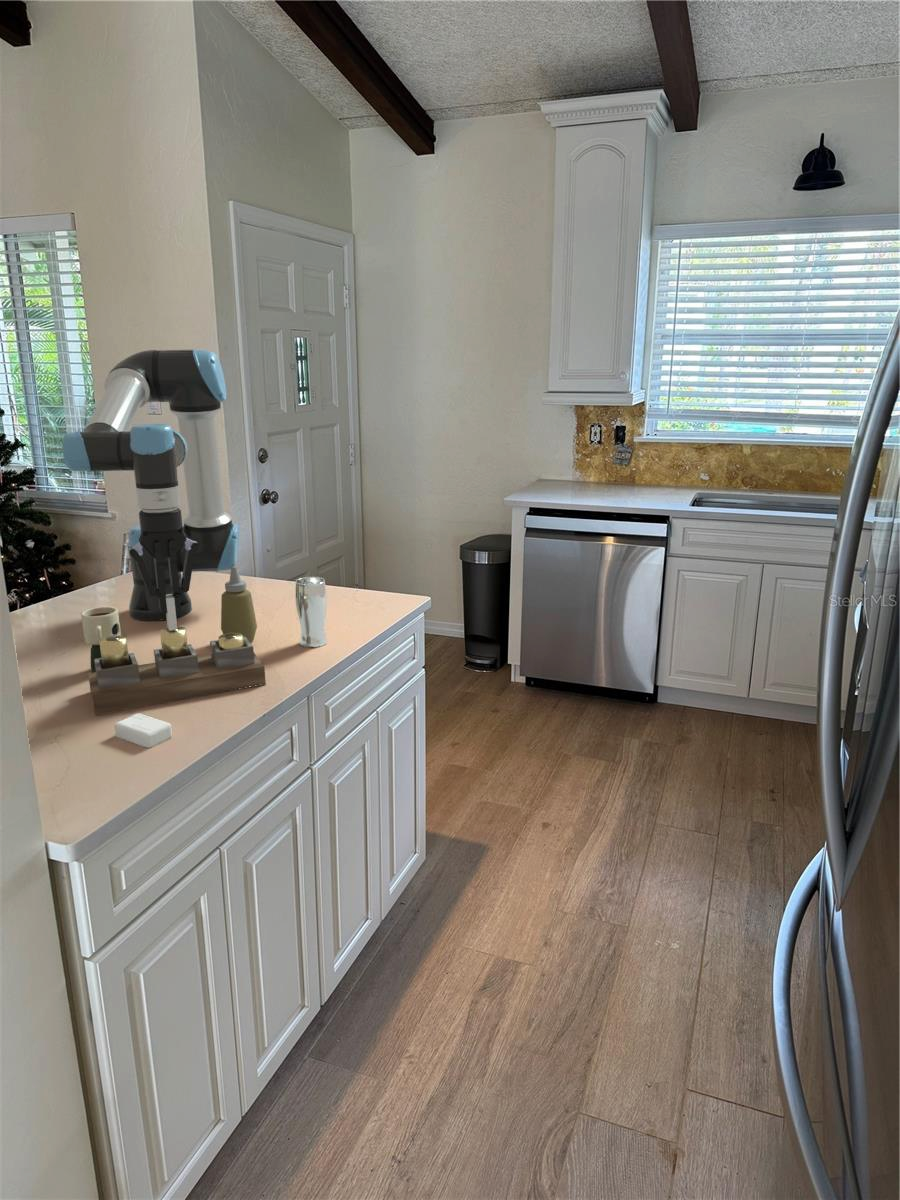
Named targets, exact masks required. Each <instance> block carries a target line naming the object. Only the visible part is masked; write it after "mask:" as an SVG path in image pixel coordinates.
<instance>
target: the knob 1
mask: <svg viewBox="0 0 900 1200" xmlns="http://www.w3.org/2000/svg"><path fill="white" fill-rule="evenodd" d="M99 642H100V650H101V657H102V664H103V667H105V668H113V667H120V666H125V665H127V664H128V663H129V655H128V654H129V649H128V641H127V636H126V635H124V634H121V635H110V636H106V637H103V638H101V639H100V640H99Z"/></svg>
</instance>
